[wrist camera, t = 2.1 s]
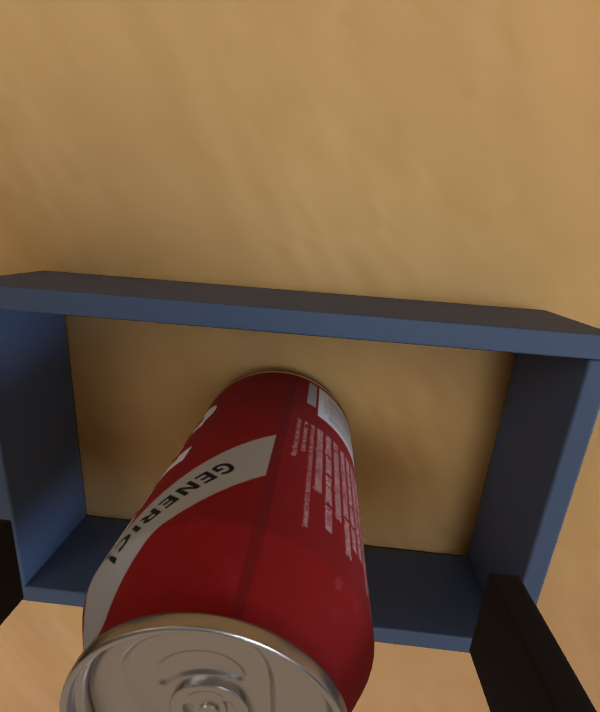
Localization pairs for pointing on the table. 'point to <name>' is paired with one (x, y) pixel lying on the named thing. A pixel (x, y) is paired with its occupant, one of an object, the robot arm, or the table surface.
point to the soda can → (237, 569)
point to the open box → (316, 318)
